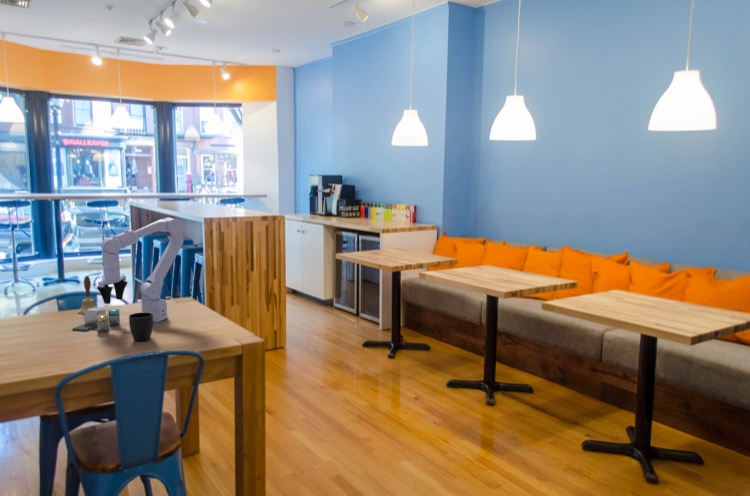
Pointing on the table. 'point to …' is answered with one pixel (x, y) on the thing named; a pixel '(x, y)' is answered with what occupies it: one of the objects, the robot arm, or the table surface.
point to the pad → (84, 327)
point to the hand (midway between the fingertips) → (113, 301)
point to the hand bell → (87, 297)
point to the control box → (93, 315)
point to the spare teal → (114, 317)
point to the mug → (141, 326)
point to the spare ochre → (102, 324)
